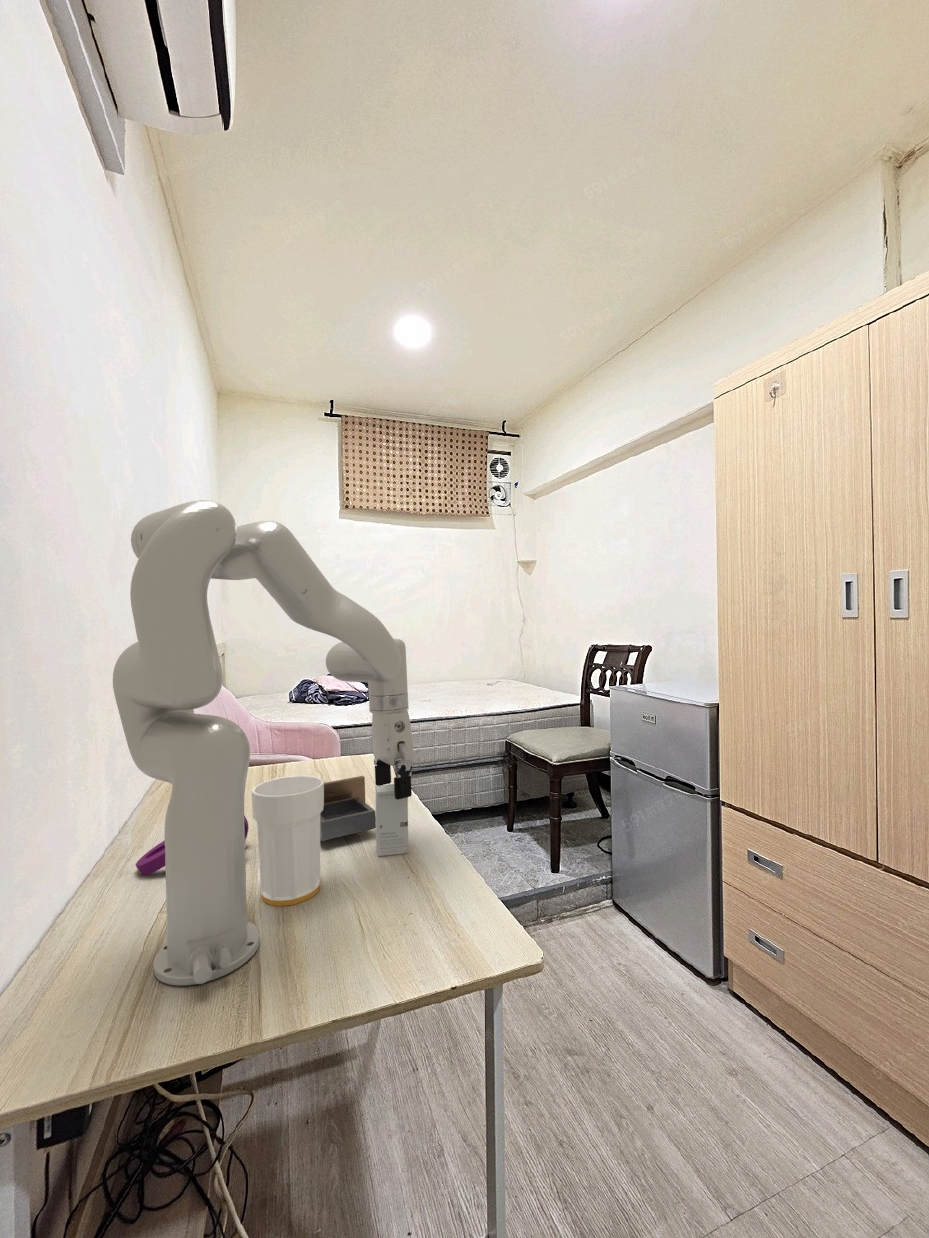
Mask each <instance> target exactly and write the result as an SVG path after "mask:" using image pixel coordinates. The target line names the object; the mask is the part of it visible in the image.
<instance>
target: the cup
mask: <svg viewBox="0 0 929 1238" xmlns="http://www.w3.org/2000/svg"><path fill="white" fill-rule="evenodd" d="M324 783H325V781H324V779H322V778H320V777H319V776H313V775H290V776H283V777H279V778H278V777H277V778H271V779H269V780H266V781H263V782H261V783H259V784H257V785H255V786H253V788H252V790H251V805H252V806H251V807H252V818H253V820H255V822H256V826H257V841H258V844H257V845H258V860H259V861H258V863H259V873H260V874H259V878H260V879H259V881H260V894H261V900H262V902H264V903H265V904H267V905H269V906H273V907H274V906H275V907H285V906H294V905H297V904H300V903H302V902H306V901H307V900H309V899H310V898H312V897H314V896H315V895H317V893H318V892H319V891H320V889H321V839H320V813H321V812H322V811H323V807H324Z"/></svg>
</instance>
